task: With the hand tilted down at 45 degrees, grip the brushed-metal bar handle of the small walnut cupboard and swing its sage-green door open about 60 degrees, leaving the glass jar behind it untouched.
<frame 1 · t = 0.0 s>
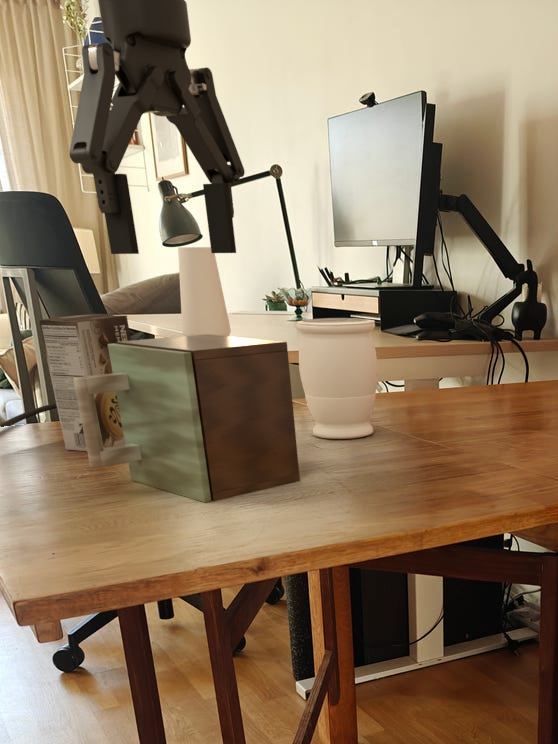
hand: (177, 254, 86), 23 cm above the table, tool pointing down, fingers open, 13 cm apart
coffee box: (108, 446, 115), on the table
cupboard: (219, 480, 96), on the table
jar: (343, 435, 121), on the table
white tapered column: (218, 423, 130), on the table
cupboard door: (134, 425, 87), point 7 cm above the table, hinge at 0.0°
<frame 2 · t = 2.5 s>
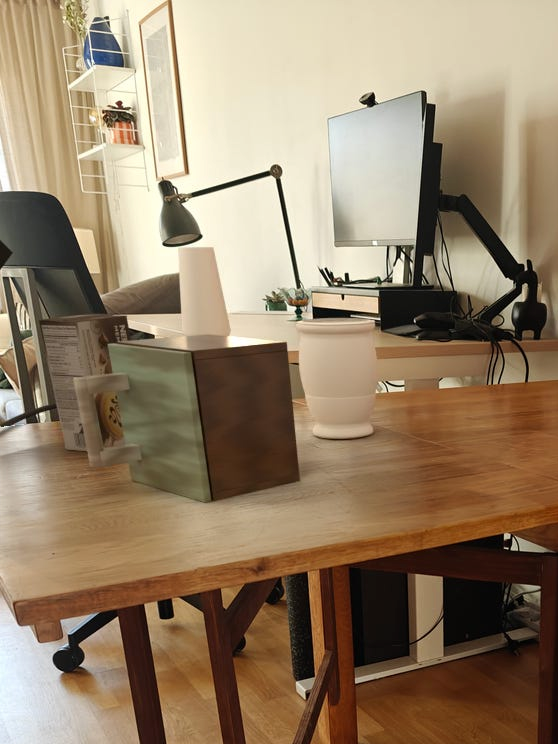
nothing on the table moved.
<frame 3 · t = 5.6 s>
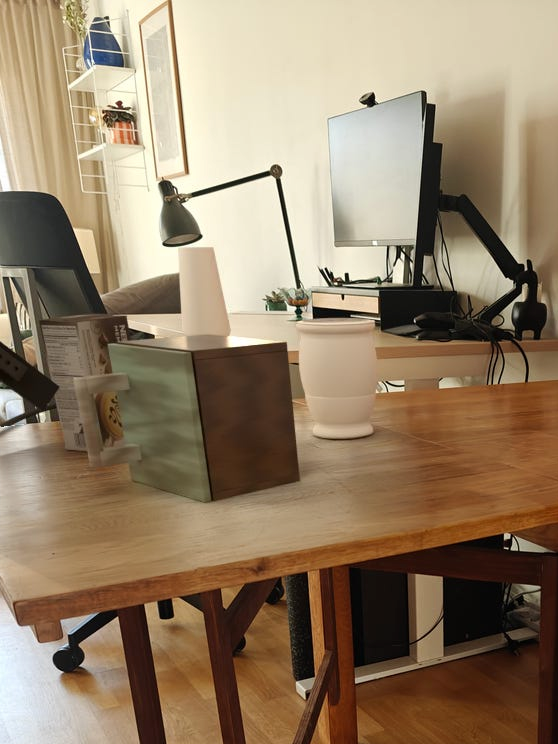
hand: (19, 392, 83), 11 cm above the table, tool tilted 45°, fingers open, 13 cm apart
nothing on the table moved.
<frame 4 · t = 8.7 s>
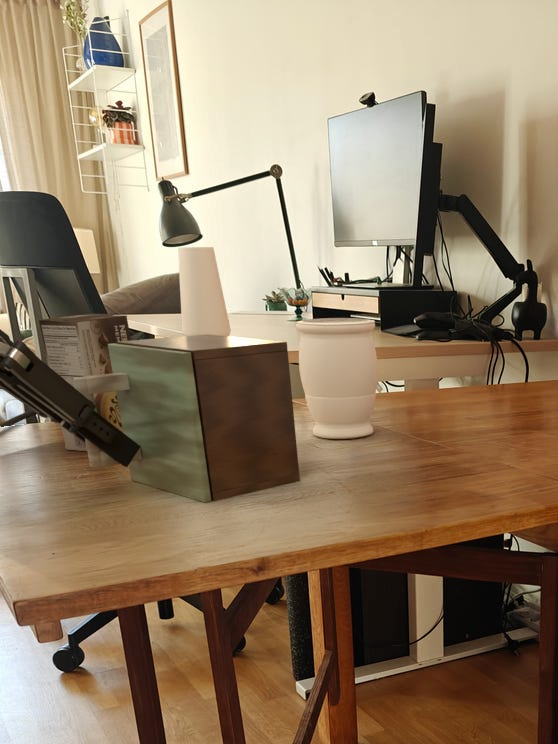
hand: (126, 454, 93), 4 cm above the table, tool tilted 45°, fingers closed on cupboard door, 2 cm apart
cupboard door: (134, 425, 87), point 7 cm above the table, hinge at 0.0°, touching gripper
everything else where it was.
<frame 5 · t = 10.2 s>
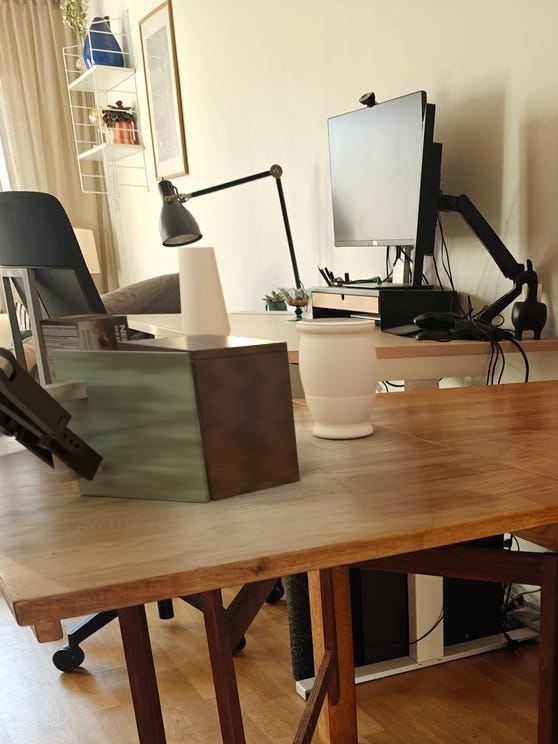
hand: (83, 467, 87), 4 cm above the table, tool tilted 45°, fingers open, 2 cm apart
cupboard door: (115, 432, 84), point 7 cm above the table, hinge at 27.6°, touching gripper
everything else where it was.
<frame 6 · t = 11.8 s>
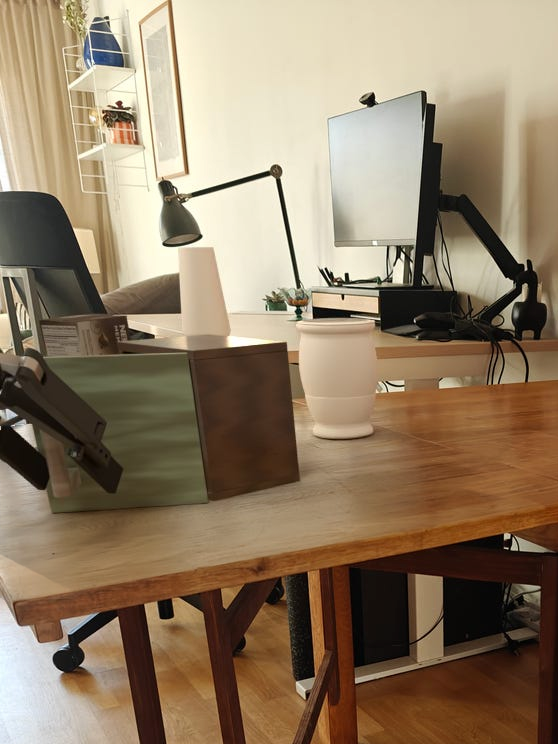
hand: (80, 479, 81), 4 cm above the table, tool tilted 45°, fingers open, 7 cm apart
cupboard door: (114, 439, 81), point 7 cm above the table, hinge at 54.5°
everything else where it was.
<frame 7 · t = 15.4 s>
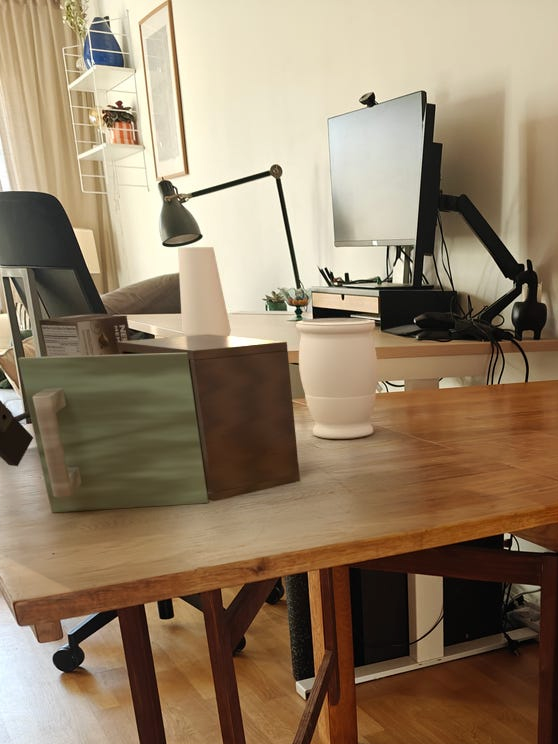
cupboard door: (114, 439, 81), point 7 cm above the table, hinge at 54.0°
everything else where it was.
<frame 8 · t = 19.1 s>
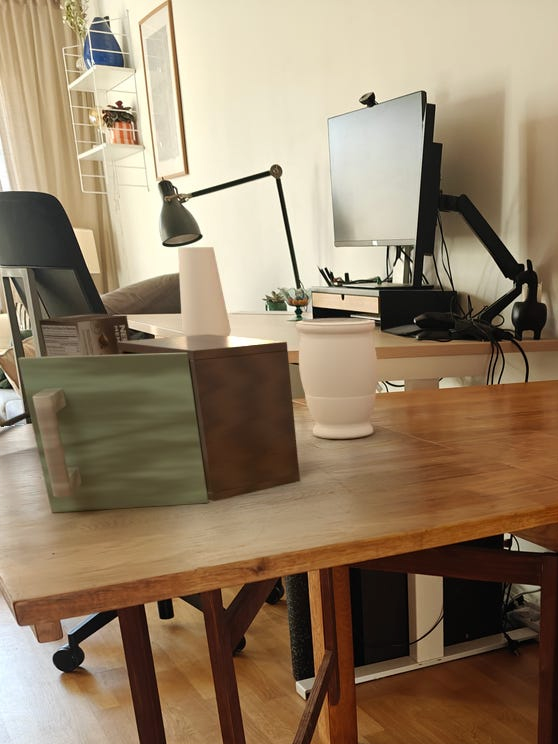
nothing on the table moved.
at the end: cupboard door at +54° (first picture: +0°); jar moved 0.2 cm from its start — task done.
